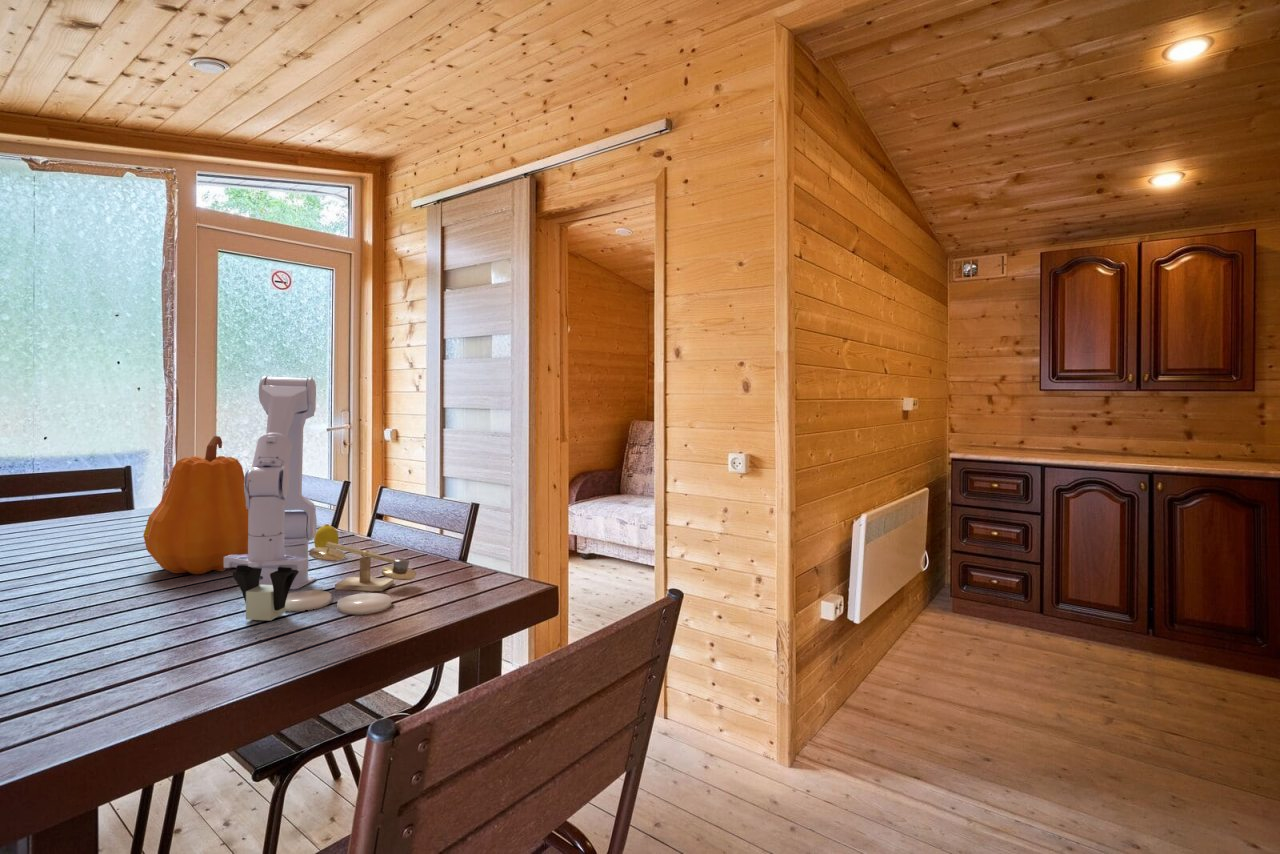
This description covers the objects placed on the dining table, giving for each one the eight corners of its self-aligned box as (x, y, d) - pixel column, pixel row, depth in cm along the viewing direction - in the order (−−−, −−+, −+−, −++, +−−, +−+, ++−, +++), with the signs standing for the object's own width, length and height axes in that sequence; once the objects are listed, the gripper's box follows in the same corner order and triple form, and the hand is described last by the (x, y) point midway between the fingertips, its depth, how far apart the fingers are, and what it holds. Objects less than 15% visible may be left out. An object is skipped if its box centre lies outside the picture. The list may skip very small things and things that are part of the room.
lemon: (328, 559, 163) (329, 526, 162) (309, 557, 164) (309, 525, 164) (343, 554, 168) (343, 522, 168) (323, 552, 169) (324, 521, 169)
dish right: (327, 613, 123) (327, 606, 123) (352, 597, 133) (352, 592, 133) (378, 615, 123) (378, 609, 123) (399, 600, 133) (399, 594, 133)
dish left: (264, 610, 124) (264, 603, 124) (293, 595, 133) (293, 589, 133) (314, 612, 123) (315, 606, 123) (340, 597, 133) (340, 591, 133)
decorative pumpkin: (168, 556, 160) (168, 432, 159) (277, 553, 166) (278, 434, 165) (122, 583, 137) (122, 439, 136) (250, 579, 144) (251, 441, 143)
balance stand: (334, 589, 138) (335, 559, 138) (348, 581, 144) (349, 553, 144) (381, 591, 138) (382, 561, 138) (393, 583, 144) (394, 555, 144)
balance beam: (302, 555, 138) (305, 541, 138) (319, 547, 145) (322, 534, 145) (408, 582, 137) (411, 568, 137) (420, 573, 144) (423, 560, 144)
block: (245, 619, 117) (245, 591, 117) (261, 611, 122) (261, 584, 122) (270, 620, 117) (270, 592, 117) (285, 612, 122) (285, 585, 122)
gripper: (211, 536, 115) (211, 613, 116) (293, 539, 115) (292, 617, 115) (238, 528, 122) (237, 600, 123) (315, 531, 122) (314, 604, 122)
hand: (265, 608), depth 120 cm, fingers closed on block, 4 cm apart
